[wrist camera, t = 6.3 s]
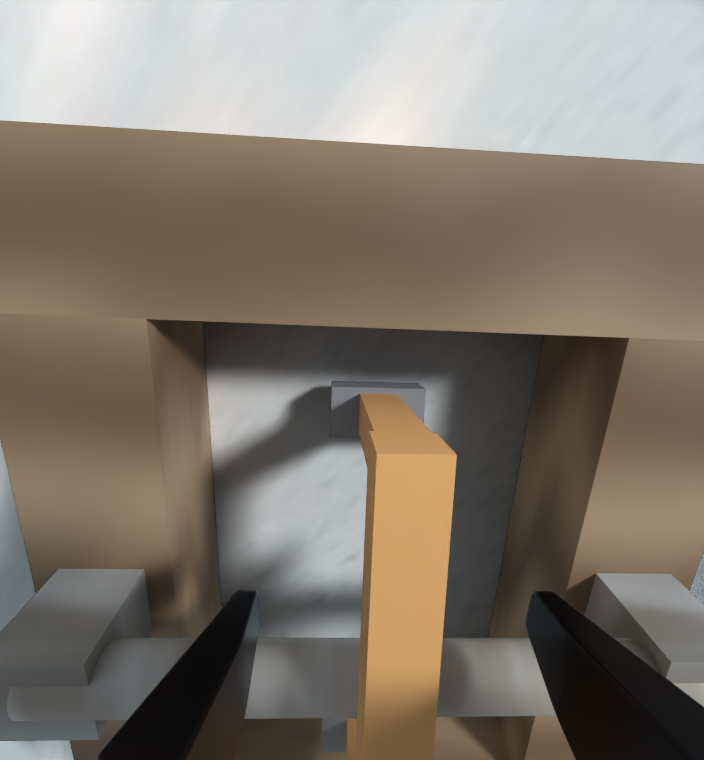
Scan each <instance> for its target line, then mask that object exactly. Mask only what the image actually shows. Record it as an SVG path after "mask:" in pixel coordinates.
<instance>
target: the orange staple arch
mask: <svg viewBox="0 0 704 760" xmlns="http://www.w3.org/2000/svg"><path fill="white" fill-rule="evenodd" d="M425 391H426V389H425V388H423V387H422V386H420V385H419V384H418V383H385V382H349V381H332V396H331V432H330V436H360V439H361V443H362V447H363V451H364V456H365V460H366V464H367V468H368V473H367V497H366V520H365V543H364V566H363V589H362V612H361V635H360V658H359V681H358V705H357V718H322V750H321V753H324V752H346V759H347V760H433V756H434V744H435V731H436V718H437V705H438V692H439V679H440V666H441V653H442V641H443V628H444V615H445V602H446V589H447V576H448V563H449V550H450V538H451V525H452V512H453V499H454V486H455V473H456V460H457V454H456V453H455V452H454V451H453V450H452V449H451V448H450V447H449V446H448V445H447V444H446V443H445V442H444V440H443V439H442V438H441V437H440V436H439V435H438V434H437V433H436V432H430V430H429V429H428V428H427V427H426V426H425V425H424V424H423V423H424V407H425Z"/></svg>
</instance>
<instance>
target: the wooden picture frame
mask: <svg viewBox="0 0 704 760" xmlns="http://www.w3.org/2000/svg"><path fill="white" fill-rule="evenodd" d="M203 321H208V322H234V323H259V324H285V325H311V326H336V327H362V328H387V329H413V330H439V331H464V332H490V333H515V334H541V335H544V338H543V344H542V349H541V355H540V360H539V365H538V371H537V376H536V381H535V387H534V392H533V398H532V403H531V408H530V414H529V419H528V425H527V430H526V435H525V441H524V446H523V452H522V457H521V462H520V468H519V473H518V479H517V484H516V489H515V495H514V500H513V505H512V511H511V516H510V522H509V527H508V532H507V538H506V543H505V549H504V554H503V559H502V565H501V570H500V576H499V581H498V586H497V592H496V597H495V603H494V608H493V613H492V619H491V624H490V630H489V635H488V638H443V641H442V653H441V666H440V679H439V692H438V705H437V718H436V731H435V744H434V756H433V760H575V757H574V755H573V753H572V751H571V748H570V746H569V744H568V742H567V739H566V737H565V735H564V733H563V730H562V728H561V726H560V723H559V721H558V718H557V716H556V714H555V711H554V708H553V705H552V703H551V700H550V697H549V694H548V691H547V688H546V686H545V683H544V680H543V677H542V674H541V671H540V668H539V665H538V662H537V659H536V656H535V654H534V651H533V648H532V645H531V642H530V639H529V636H528V633H527V629H526V616H527V611H528V607H529V602H530V597H531V594H532V593H533V592H534V591H552V592H554V593H556V594H557V595H558V596H560V597H561V598H562V599H564V600H565V601H566V602H568V603H569V604H570V605H571V606H573V607H574V608H575V609H577V610H578V611H579V612H581V613H582V614H583V615H584V616H586V617H587V618H588V619H590V620H591V621H592V622H594V623H595V624H596V625H598V626H599V627H600V628H601V629H603V630H604V631H605V632H607V633H608V634H609V635H611V636H612V637H613V638H615V639H616V640H617V641H618V642H620V643H621V644H622V645H624V646H625V647H626V648H628V649H629V650H630V651H632V652H633V653H634V654H635V655H637V656H638V657H639V658H641V659H642V660H643V661H645V662H646V663H647V664H648V665H650V666H651V667H652V668H654V669H655V670H656V671H658V672H659V673H660V674H662V675H663V676H664V677H665V678H667V679H668V680H669V681H671V682H672V683H673V684H675V685H676V686H677V687H679V688H680V689H681V690H682V691H684V692H685V693H686V694H688V695H689V696H690V697H692V698H693V699H694V700H696V701H697V702H698V703H699V704H701V705H702V706H703V707H704V604H703V603H702V602H701V601H700V600H699V599H698V598H696V597H695V596H694V595H693V594H692V593H691V592H690V591H689V590H690V588H691V585H692V582H693V579H694V576H695V574H696V571H697V568H698V565H699V562H700V560H701V557H702V554H703V551H704V164H692V163H675V162H659V161H643V160H627V159H611V158H595V157H579V156H563V155H547V154H531V153H515V152H499V151H482V150H466V149H450V148H434V147H418V146H402V145H386V144H370V143H354V142H338V141H322V140H305V139H289V138H273V137H257V136H241V135H225V134H209V133H193V132H177V131H161V130H145V129H128V128H112V127H96V126H80V125H64V124H48V123H32V122H16V121H0V439H1V443H2V448H3V452H4V456H5V461H6V465H7V469H8V474H9V478H10V483H11V487H12V491H13V496H14V500H15V504H16V509H17V513H18V517H19V522H20V526H21V531H22V535H23V539H24V544H25V548H26V552H27V557H28V561H29V565H30V570H31V574H32V579H33V583H34V587H35V592H36V594H35V595H34V596H33V597H32V599H31V600H30V601H29V602H28V603H27V604H26V605H25V606H24V607H23V608H22V609H21V611H20V612H19V613H18V614H17V615H16V616H15V617H14V618H13V619H12V620H11V621H10V622H9V624H8V625H7V626H6V627H5V628H4V629H3V630H2V631H1V632H0V741H37V740H70V744H71V749H72V753H73V757H74V760H94V759H96V760H97V756H98V754H99V752H100V751H101V750H102V749H103V748H104V747H105V745H106V744H107V743H108V742H109V741H110V740H111V738H112V737H113V736H114V735H115V734H116V733H117V731H118V730H119V729H120V728H121V727H122V725H123V724H124V723H125V722H126V721H127V720H128V718H129V717H130V716H131V715H132V714H133V713H134V711H135V710H136V709H137V708H138V707H139V705H140V704H141V703H142V702H143V701H144V700H145V698H146V697H147V696H148V695H149V694H150V693H151V691H152V690H153V689H154V688H155V687H156V686H157V684H158V683H159V682H160V681H161V680H162V678H163V677H164V676H165V675H166V674H167V673H168V671H169V670H170V669H171V668H172V667H173V666H174V664H175V663H176V662H177V661H178V660H179V658H180V657H181V656H182V655H183V654H184V653H185V651H186V650H187V649H188V648H189V647H190V646H191V644H192V643H193V642H194V641H195V640H196V639H197V637H198V636H199V635H200V634H201V633H202V631H203V630H204V629H205V628H206V627H207V626H208V624H209V623H210V622H211V621H212V620H213V619H214V617H215V616H216V615H217V614H218V613H219V612H220V610H221V595H220V579H219V564H218V548H217V532H216V516H215V500H214V484H213V468H212V453H211V437H210V421H209V405H208V389H207V373H206V358H205V342H204V326H203ZM359 658H360V638H258V639H257V645H256V652H255V658H254V664H253V671H252V677H251V683H250V690H249V696H248V702H247V708H246V713H245V718H244V723H243V727H242V731H241V735H240V739H239V743H238V747H237V751H236V755H235V759H234V760H347V759H346V752H324V753H321V750H322V718H357V705H358V681H359Z"/></svg>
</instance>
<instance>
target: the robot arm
mask: <svg viewBox="0 0 704 760" xmlns="http://www.w3.org/2000/svg"><path fill="white" fill-rule="evenodd" d="M259 621H260V617H259V593H258V591H257V590H256V589H240V590H238V591H237V592H236V593H235V594H234V595H233V596H232V597H231V599H230V600H229V601H228V602H227V603H226V604H225V606H224V607H223V608H222V609H221V610H220V612H219V613H218V614H217V615H216V616H215V617H214V619H213V620H212V621H211V622H210V623H209V624H208V626H207V627H206V628H205V629H204V630H203V631H202V633H201V634H200V635H199V636H198V637H197V639H196V640H195V641H194V642H193V643H192V644H191V646H190V647H189V648H188V649H187V650H186V651H185V653H184V654H183V655H182V656H181V657H180V658H179V660H178V661H177V662H176V663H175V664H174V666H173V667H172V668H171V669H170V670H169V671H168V673H167V674H166V675H165V676H164V677H163V678H162V680H161V681H160V682H159V683H158V684H157V686H156V687H155V688H154V689H153V690H152V691H151V693H150V694H149V695H148V696H147V697H146V698H145V700H144V701H143V702H142V703H141V704H140V705H139V707H138V708H137V709H136V710H135V711H134V713H133V714H132V715H131V716H130V717H129V718H128V720H127V721H126V722H125V723H124V724H123V725H122V727H121V728H120V729H119V730H118V731H117V733H116V734H115V735H114V736H113V737H112V738H111V740H110V741H109V742H108V743H107V744H106V745H105V747H104V748H103V749H102V750H101V751H100V752H99V754H98V756H97V760H234V759H235V755H236V751H237V747H238V743H239V739H240V735H241V731H242V727H243V723H244V718H245V713H246V708H247V702H248V696H249V690H250V683H251V677H252V671H253V664H254V658H255V652H256V645H257V639H258V632H259ZM526 629H527V633H528V636H529V639H530V642H531V645H532V648H533V651H534V654H535V656H536V659H537V662H538V665H539V668H540V671H541V674H542V677H543V680H544V683H545V686H546V688H547V691H548V694H549V697H550V700H551V703H552V705H553V708H554V711H555V714H556V716H557V718H558V721H559V723H560V726H561V728H562V730H563V733H564V735H565V737H566V739H567V742H568V744H569V746H570V748H571V751H572V753H573V755H574V757H575V760H704V707H703V706H702V705H701V704H699V703H698V702H697V701H696V700H694V699H693V698H692V697H690V696H689V695H688V694H686V693H685V692H684V691H682V690H681V689H680V688H679V687H677V686H676V685H675V684H673V683H672V682H671V681H669V680H668V679H667V678H665V677H664V676H663V675H662V674H660V673H659V672H658V671H656V670H655V669H654V668H652V667H651V666H650V665H648V664H647V663H646V662H645V661H643V660H642V659H641V658H639V657H638V656H637V655H635V654H634V653H633V652H632V651H630V650H629V649H628V648H626V647H625V646H624V645H622V644H621V643H620V642H618V641H617V640H616V639H615V638H613V637H612V636H611V635H609V634H608V633H607V632H605V631H604V630H603V629H601V628H600V627H599V626H598V625H596V624H595V623H594V622H592V621H591V620H590V619H588V618H587V617H586V616H584V615H583V614H582V613H581V612H579V611H578V610H577V609H575V608H574V607H573V606H571V605H570V604H569V603H568V602H566V601H565V600H564V599H562V598H561V597H560V596H558V595H557V594H556V593H554V592H552V591H534V592H533V593H532V594H531V597H530V602H529V607H528V611H527V616H526ZM94 760H96V759H94Z"/></svg>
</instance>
